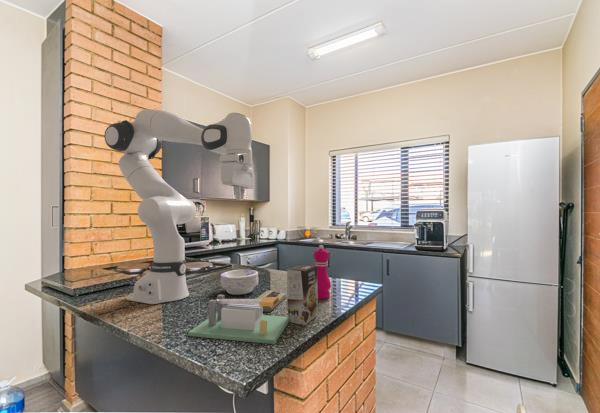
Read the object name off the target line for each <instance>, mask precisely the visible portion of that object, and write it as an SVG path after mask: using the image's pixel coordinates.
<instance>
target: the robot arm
mask: <svg viewBox="0 0 600 413" xmlns="http://www.w3.org/2000/svg"><path fill="white" fill-rule="evenodd" d="M104 141H105V144H106V145H107V147H109V148H110V149H112V150H114V151H117V152H119V153H120V152H123V153H124V154H122V156H121V157H120V158H119V160H118V168H119V169H120V171H121V173H122V176H123V177H124V179H125V181H127V183H128V184H129V186H130V187H131V188H132V189H133V191H134V192H135V193H136V194H137V196H138V197H139V198H140V199H141V201H140V203H139V205H138V208H137V214H138V218H139V219H140V221H141V222H142V223H144V225H145V226H146V227H147V228H148V230H149V232H150V236H151V238H152V244H153V245H152V246H153V261H152V262H150V263H147V264H146V265H147V266H146V267H148V268H149V271H148V272H146V273H145V274H144V275H143V276H141V277H140V278H139V279H138V280H136V282H135V283H134V287H133V292H132V293H130V294H128V295H127V296H126V301H129V302H130V301H131V302H137V303H138V302H139V303H144V304H149V305H157V304H161V303H169V302H176V301H180V300H182V299H184V298H188V297H189V296H190V293H189V292H190V291H189V289H188V285H187V284H188V283H187V280H186V279H187V278H186V273H187V260H186V259H185V258H186V256H185V255H186V254H185V253H186V250H185V247H186V246H185V245H186V244H185V243H186V242H185V239H184V237H183V236H181V235H180V233H179V231H178V226H177V225H183V224H186V223H189V222H191V221H193V220H194V219H195V218H196V215H197V206H196V204H195V203H194V202H193V201H192V200H190V199H188V198H186V197H185V196H183V194H180V192H178V191H177V190H176V189H175V188H173V187H172V186H171V185H169V184H168V183H167V182H166V181H165V180H164V178H162V176H161V175H160V174H159V173H158V171H157V170H156V169H155V168H154V167H153V165H152V164H151V163H150V162H149V160H153V159H154V158H155V156H156V155H157V154H158V153H159V152H160V150H161V149H162V147H163V141H165V142H170V143H182V144H193V145H199V146H203V147H204V148H205V149H206V150H208V151H209V152H212V153H214V154H219V155H220V156H219V162H220V180H221V184H222V185H224V186H230V187H233V192H234V196H235V197H234V198H235V200H236V201H243V200H244V196H245V192H246V190H247V189H248V190H250V189H251V190H252V189H254V188H255V174H254V170H253V168H252V166H253V149H252V142H253V128H252V122H251V119H250V118H249V117H248V116H246V115H245V114H242V113H240V112H239V113H238V112H230V113H227V115H226V116H225V117H224V119H222V120H220V121H218V122H216V123H213V124H212V123H211V124H208V125H207V126H205V127H204V128H202V127H199V126H197V125H195V124H194V123H191V122H189V121H188V120H186V119H184V118H182V117H181V116H178V115H176V114H175V113H172V112H170V111H166V110H160V109H152V108H151V109H149V108H147V109H141V110H140V111H138V112H137V114H136V115H135V119H134V121H132V122H130V121H129V120H127V119H124V120H122V121H120V122H115V123H112V124H110V125H108V126H107V127H106V129H105V131H104Z"/></svg>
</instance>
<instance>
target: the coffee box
mask: <svg viewBox="0 0 600 413" xmlns="http://www.w3.org/2000/svg"><path fill="white" fill-rule="evenodd" d="M286 274H287V275H286V281H287V282H286V283H287V285H286V286H287V289H286V291H287V293H286V294H287V295H286V297H287V298H286V299H287V302H286V304H287V308H286V310H287V317H288V318H289V323H292V324H298V325H301V324H302V326H307V325H308V324H309V323H310V322H312V321H313V320H314V319H316V318H317V317H318V316H319V307H318V304H319V302H318V301H319V300H318V292H317V266H316V265H307V264H306V265H305V264H303V265H302V264H299V265H297V266H293V267H291V268H287V270H286ZM311 320H312V321H311Z"/></svg>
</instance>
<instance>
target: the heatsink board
mask: <svg viewBox="0 0 600 413" xmlns="http://www.w3.org/2000/svg"><path fill="white" fill-rule="evenodd" d="M216 296H217V298H221V299H226V298H225V297H226V296H225V294H218V295H216ZM217 298H216V299H217ZM216 299H209V300H208V317H207V318H206V319H205V320H204V321H202V322H201V323H199V324H198V325H197V326H195V327H194V328H192V329H190V330H189V331H188V334H187V335H188V336H189V337H197V338H208V339H215V340H217V339H218V340H226V341H227V340H229V341H238V342H247V343H249V342H250V343H259V344H268V345H275V344H276V343H277V341H278V340H279V338H280V336H281V335H282V334H283V332H284V330H285V329H286V327H288V326H287V325H288V324H289V323H290V322H289V318H288V316H279V315H269V314H268V315H267V314H264V313H263V312H264V311H263V306H259V304H216Z"/></svg>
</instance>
